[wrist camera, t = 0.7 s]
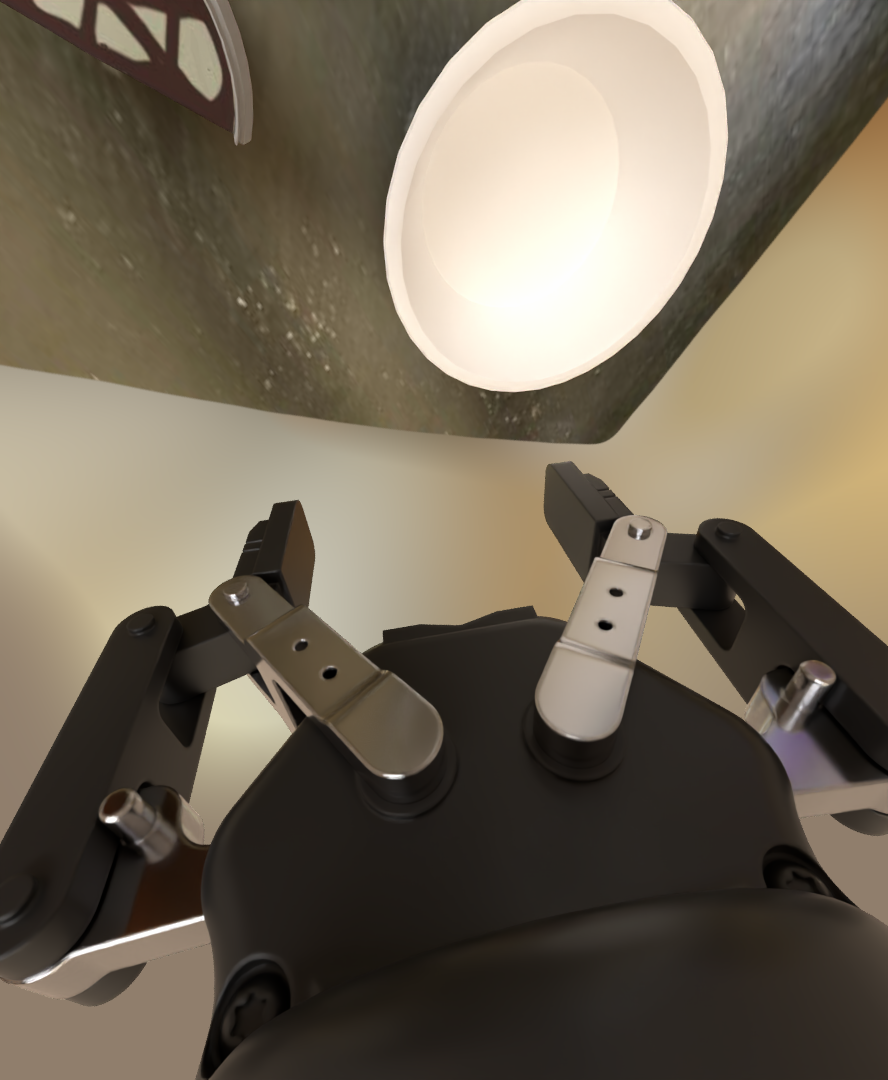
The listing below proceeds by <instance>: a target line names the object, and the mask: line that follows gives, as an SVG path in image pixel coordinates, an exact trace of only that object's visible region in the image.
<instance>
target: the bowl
mask: <svg viewBox="0 0 888 1080" xmlns="http://www.w3.org/2000/svg"><path fill="white" fill-rule="evenodd" d="M727 142H728V128H727V113H726V99H725V91H724V87H723V84H722V81H721V77H720V74H719V70H718V67H717V63H716V60H715V57H714V53H713V51H712V50H711V48H710V46H709V45H708V43H707V42H706V40H705V38H704V37H703V35H702V33H701V32H700V30H699V28H698V27H697V25H696V24H695V22H694V20H693V19H692V17H690V16H689V15H688V14H687V13H686V12H684V11H683V10H682V9H681V8H680V7H678V6H677V5H676V4H675V3H674V2H673V1H671V0H521V1H519V2H518V3H516V4H514V5H513V6H511V7H510V8H508V9H507V10H505V11H504V12H502V13H501V14H499V15H498V16H496V17H494V18H493V19H491V20H490V21H488V22H487V23H486V24H485V25H484V26H483V27H482V28H481V29H480V30H479V31H478V32H477V33H476V34H475V35H474V36H473V37H472V38H471V39H470V40H469V41H468V42H467V43H466V44H465V45H464V46H463V47H462V48H461V49H460V50H459V51H458V52H457V53H456V54H455V55H454V56H453V57H452V58H451V59H450V60H449V62H448V63H447V65H446V66H445V68H444V69H443V71H442V72H441V74H440V75H439V77H438V78H437V80H436V81H435V83H434V84H433V86H432V87H431V89H430V90H429V92H428V93H427V95H426V96H425V98H424V99H423V101H422V102H421V104H420V105H419V107H418V109H417V111H416V114H415V116H414V118H413V120H412V123H411V125H410V127H409V130H408V132H407V134H406V136H405V139H404V141H403V143H402V145H401V148H400V150H399V152H398V156H397V160H396V164H395V168H394V172H393V176H392V180H391V184H390V188H389V191H388V195H387V201H386V213H385V226H384V239H383V243H384V254H385V264H386V275H387V281H388V284H389V288H390V291H391V295H392V298H393V302H394V305H395V309H396V312H397V314H398V316H399V317H400V319H401V321H402V323H403V325H404V327H405V329H406V331H407V333H408V335H409V337H410V338H411V339H412V341H413V342H414V343H415V344H416V346H417V347H418V348H419V349H420V351H421V352H422V353H423V354H424V355H425V357H426V358H427V359H428V360H430V361H431V362H432V363H433V364H435V365H436V366H437V367H438V368H440V369H441V370H442V371H443V372H445V373H446V374H448V375H450V376H452V377H454V378H456V379H458V380H460V381H462V382H464V383H466V384H468V385H471V386H475V387H479V388H483V389H487V390H491V391H506V392H520V391H528V390H537V389H542V388H545V387H549V386H552V385H556V384H559V383H563V382H565V381H567V380H570V379H572V378H574V377H576V376H578V375H581V374H583V373H585V372H587V371H589V370H591V369H592V368H594V367H596V366H597V365H599V364H600V363H602V362H603V361H605V360H607V359H608V358H610V357H611V356H613V355H614V354H615V353H617V352H618V351H619V350H620V349H621V348H623V347H624V346H625V345H626V344H628V343H629V342H630V341H631V340H632V339H634V338H635V337H636V336H637V335H638V334H639V333H640V332H641V331H642V330H643V329H644V328H645V327H646V326H647V325H648V323H649V322H650V321H651V320H652V319H653V318H654V317H655V316H656V315H657V314H658V313H659V312H660V310H661V309H662V308H663V306H664V305H665V304H666V302H667V301H668V300H669V298H670V297H671V296H672V294H673V293H674V292H675V290H676V289H677V288H678V286H679V285H680V283H681V282H682V280H683V278H684V276H685V275H686V273H687V271H688V269H689V268H690V266H691V264H692V263H693V261H694V259H695V257H696V256H697V254H698V252H699V249H700V247H701V245H702V242H703V240H704V238H705V235H706V233H707V230H708V228H709V226H710V223H711V221H712V218H713V215H714V212H715V208H716V204H717V201H718V197H719V193H720V189H721V186H722V182H723V178H724V169H725V160H726V151H727Z"/></svg>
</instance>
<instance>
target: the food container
mask: <svg viewBox="0 0 888 1080" xmlns="http://www.w3.org/2000/svg"><path fill="white" fill-rule="evenodd" d="M0 2H2V3H4V4H5V5H7V6H9V7H11V8H12V9H14V10H16V11H17V12H19V13H21V14H23V15H24V16H26V17H28V18H29V19H31V20H33V21H35V22H36V23H38V24H40V25H41V26H43V27H45V28H47V29H48V30H50V31H52V32H53V33H55V34H56V35H58V36H60V37H61V38H63V39H65V40H66V41H68V42H70V43H71V44H73V45H75V46H76V47H78V48H80V49H81V50H83V51H85V52H86V53H88V54H90V55H91V56H93V57H95V58H96V59H98V60H100V61H102V62H104V63H106V64H108V65H110V66H111V67H113V68H115V69H117V70H119V71H121V72H123V73H125V74H127V75H128V76H130V77H132V78H134V79H136V80H138V81H139V82H141V83H143V84H145V85H147V86H149V87H150V88H152V89H154V90H156V91H158V92H159V93H161V94H163V95H165V96H167V97H169V98H170V99H172V100H174V101H176V102H177V103H179V104H181V105H183V106H184V107H186V108H188V109H190V110H191V111H193V112H195V113H197V114H198V115H200V116H202V117H204V118H206V119H207V120H209V121H211V122H213V123H214V124H216V125H218V126H220V127H222V128H223V129H225V130H227V131H229V132H231V133H232V134H233V133H234V141H235V145H237V144H238V142H239V143H241V144H243V145H244V144H246V143H248V142H249V141H251V136H252V126H253V96H252V86H251V80H250V73H249V66H248V61H247V57H246V53H245V50H244V46H243V42H242V38H241V34H240V31H239V28H238V26H237V23H236V20H235V17H234V15H233V12H232V9H231V7H230V4H229V1H228V0H0Z"/></svg>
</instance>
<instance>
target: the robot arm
mask: <svg viewBox="0 0 888 1080" xmlns="http://www.w3.org/2000/svg"><path fill="white" fill-rule="evenodd" d="M544 514H545V518H546V522H547V524H548V525H549V527H550V529H551V530H552V532H553V533H554V535H555V537H556V538H557V539H558V541H559V543H560V545H561V546H562V548H563V549H564V551H565V553H566V554H567V556H568V558H569V559H570V561H571V563H572V564H573V566H574V567H575V569H576V571H577V572H578V574H579V575H580V577H581V579H582V580H583V582H584V584H583V587H582V589H581V591H580V594H579V596H578V599H577V601H576V603H575V606H574V608H573V610H572V613H571V615H570V617H569V620H568V622H566V621H563V620H560V619H555V618H551V617H542V616H537V615H536V612H535V610H534V608H533V606H527V607H520V608H514V609H509V610H503V611H497V612H494V613H491V614H489V615H486V616H484V617H481V618H479V619H476V620H473V621H471V622H468V623H465V624H463V625H425V624H419V625H414V626H408V627H402V628H396V629H390V630H384V631H383V643H380V644H378V645H376V646H374V647H372V648H370V649H368V650H367V651H365V652H363V653H361V652H359V651H358V650H357V649H356V648H355V647H353V646H352V645H351V644H350V643H349V642H348V641H346V640H345V639H344V638H343V637H342V636H341V635H339V634H338V633H337V632H336V631H335V630H333V629H332V628H331V627H330V626H329V625H328V624H326V623H325V622H324V621H323V620H322V619H321V618H319V617H318V616H317V615H316V614H315V613H314V612H312V611H311V610H310V609H309V608H308V606H309V598H310V591H311V584H312V577H313V570H314V562H315V549H314V543H313V540H312V536H311V533H310V530H309V527H308V524H307V521H306V517H305V514H304V511H303V508H302V505H301V503H300V501H299V500H295V501H288V502H281V503H275V504H274V505H273V508H272V511H271V514H270V517H269V520H264V521H260V522H258V524H257V525H256V526H255V527H254V528H253V529H252V530H251V531H250V532H249V534H248V537H247V540H246V544H245V545H244V548H243V553H242V554H241V556H240V559H239V562H238V565H237V568H236V571H235V573H234V576H233V578H232V579H230V580H228V581H226V582H224V583H222V584H221V585H219V586H218V587H217V588H216V589H215V590H214V591H213V592H212V593H211V595H210V597H209V604H208V605H207V606H205V607H202V608H199V609H197V610H194V611H191V612H189V613H186V614H183V615H180V616H178V617H176V615H175V613H174V612H173V610H172V609H170V608H169V607H166V606H154V607H149V608H145V609H142V610H140V611H138V612H135V613H134V614H132V615H130V616H128V617H127V618H126V619H124V620H123V621H122V622H121V623H120V624H118V626H117V627H116V628H115V630H114V631H113V633H112V635H111V636H110V638H109V640H108V642H107V644H106V646H105V648H104V649H103V652H102V653H101V655H100V657H99V659H98V661H97V663H96V665H95V666H94V668H93V670H92V672H91V674H90V676H89V678H88V680H87V682H86V683H85V685H84V687H83V689H82V691H81V693H80V695H79V697H78V698H77V700H76V702H75V704H74V706H73V708H72V710H71V712H70V713H69V716H68V717H67V719H66V721H65V723H64V725H63V727H62V729H61V730H60V732H59V734H58V736H57V738H56V740H55V742H54V744H53V746H52V747H51V749H50V751H49V753H48V755H47V757H46V759H45V761H44V763H43V764H42V766H41V768H40V770H39V772H38V774H37V776H36V778H35V779H34V781H33V783H32V785H31V787H30V789H29V791H28V793H27V795H26V796H25V798H24V800H23V802H22V804H21V806H20V808H19V810H18V812H17V814H16V815H15V817H14V819H13V821H12V823H11V825H10V827H9V829H8V830H7V832H6V834H5V836H4V838H3V840H2V842H1V844H0V978H1V979H2V981H4V982H6V983H8V984H11V985H14V986H17V987H20V988H23V989H26V990H29V991H32V992H35V993H38V994H41V995H44V996H47V997H50V998H53V999H66V1000H69V1001H72V1002H75V1003H78V1004H81V1005H85V1006H98V1005H101V1004H104V1003H106V1002H108V1001H110V1000H112V999H114V998H115V997H116V996H118V995H119V994H121V993H122V992H123V991H124V990H125V989H127V988H128V987H129V985H130V984H131V983H132V982H133V981H134V980H135V979H136V978H137V976H138V975H139V974H140V973H141V971H142V969H143V968H144V966H145V965H146V963H147V962H148V961H151V960H155V959H158V958H162V957H165V956H169V955H172V954H176V953H179V952H183V951H186V950H189V949H193V948H197V947H200V946H203V945H207V944H210V943H211V945H212V952H213V960H214V977H215V979H214V980H215V981H214V1006H213V1013H212V1020H211V1024H210V1029H209V1033H208V1037H207V1041H206V1045H205V1048H204V1052H203V1055H202V1058H201V1062H200V1065H199V1069H198V1072H197V1075H196V1079H195V1080H888V926H887V925H885V924H884V923H882V922H881V921H879V920H878V919H876V918H875V917H874V916H872V915H870V914H868V913H866V912H865V911H863V910H861V909H860V908H859V907H857V906H856V905H855V904H854V903H853V902H852V901H851V900H850V899H849V898H848V897H847V896H846V895H845V894H844V893H843V892H842V891H841V890H840V889H839V888H838V887H837V886H836V885H835V884H834V883H833V881H832V880H831V879H830V878H829V877H828V875H827V874H826V873H825V871H824V870H823V869H822V867H821V866H820V864H819V862H818V861H817V859H816V857H815V855H814V853H813V851H812V849H811V847H810V845H809V843H808V841H807V838H806V835H805V833H804V831H803V828H802V825H801V823H800V819H799V818H806V817H813V816H820V815H827V814H830V815H831V816H832V817H833V818H835V819H836V820H837V821H839V822H840V823H842V824H843V825H845V826H847V827H848V828H850V829H852V830H855V831H857V832H860V833H863V834H867V835H873V836H880V835H885V834H888V646H887V645H886V644H885V643H884V642H883V641H881V640H880V639H879V638H878V637H877V636H876V635H874V634H873V633H872V632H871V631H869V629H868V628H866V627H865V626H864V625H863V624H862V623H861V622H859V621H858V620H857V619H856V618H855V617H854V616H852V615H851V614H850V613H849V612H848V611H847V610H846V609H844V608H843V607H842V606H841V605H840V604H839V603H837V602H836V601H835V600H834V599H833V598H832V597H831V596H829V595H828V594H827V593H826V592H825V591H824V590H822V589H821V588H820V587H819V586H818V585H816V584H815V583H814V582H813V581H812V580H811V579H810V578H809V577H807V576H806V575H805V574H804V573H803V572H802V571H800V570H799V569H798V568H797V567H796V566H795V565H794V564H792V563H791V562H790V561H789V560H788V559H787V558H785V557H784V556H783V555H782V554H781V553H780V552H778V551H777V550H776V549H775V548H774V547H773V546H772V545H770V544H769V543H768V542H767V541H766V540H764V539H763V538H762V537H761V536H760V535H759V534H757V533H756V532H755V531H754V530H753V529H752V528H750V527H749V526H747V525H745V524H743V523H740V522H737V521H734V520H729V519H720V518H719V519H718V518H717V519H709V520H706V521H704V522H702V523H701V524H700V526H699V528H698V532H697V534H696V535H695V534H676V533H675V534H674V533H667V529H666V528H665V526H664V525H663V524H662V523H660V522H659V521H657V520H655V519H652V518H649V517H646V516H640V515H634V514H633V513H632V512H631V511H630V510H629V509H628V508H627V507H626V506H625V505H624V504H623V502H622V501H621V500H620V499H619V498H618V497H616V496H615V494H614V493H613V492H612V491H611V490H609V487H608V486H607V485H606V484H605V483H604V482H603V481H602V480H601V479H599V478H597V477H595V476H593V475H591V474H582V472H581V471H580V470H579V469H578V468H577V467H576V466H575V464H574V463H573V462H571V461H568V462H562V463H554V464H549V465H548V466H547V468H546V477H545V494H544ZM736 594H737V595H738V596H739V597H740V598H741V600H742V602H743V603H744V606H745V610H744V609H743V608H742V606H740V604H739V603H738V602H737V601H736V600H735V599H734V598H735V596H736ZM650 605H653V606H665V607H677V608H678V610H679V611H680V612H681V614H682V615H683V617H684V618H685V620H686V621H687V622H688V624H689V625H690V626H691V628H692V629H693V630H694V632H695V633H696V634H697V636H698V637H699V639H700V640H701V641H702V643H703V644H704V646H705V647H706V648H707V650H708V651H709V653H710V654H711V655H712V657H713V658H714V659H715V661H716V662H717V664H718V665H719V666H720V668H721V669H722V670H723V672H724V673H725V675H726V676H727V677H728V679H729V680H730V681H731V683H732V684H733V686H734V687H735V688H736V690H737V691H738V692H739V694H740V695H741V697H742V698H743V699H744V701H745V702H746V703H747V707H746V709H745V721H746V722H745V721H744V720H743V719H741V718H740V717H738V716H737V715H735V714H734V713H732V712H730V711H728V710H727V709H725V708H723V707H721V706H720V705H718V704H716V703H714V702H712V701H711V700H709V699H707V698H705V697H703V696H701V695H700V694H698V693H696V692H694V691H693V690H691V689H689V688H687V687H686V686H684V685H682V684H680V683H678V682H677V681H675V680H673V679H671V678H669V677H668V676H666V675H664V674H662V673H660V672H659V671H657V670H655V669H653V668H651V667H650V666H648V665H646V664H644V663H642V662H641V661H639V660H637V655H638V651H639V647H640V643H641V639H642V634H643V631H644V627H645V623H646V619H647V615H648V610H649V607H650ZM246 674H247V675H248V677H249V678H250V679H251V681H252V682H253V683H254V684H255V685H256V687H257V688H258V689H259V690H260V691H261V693H262V694H263V695H264V696H265V698H266V699H267V700H268V701H269V702H270V704H271V705H272V706H273V707H274V708H275V710H276V711H277V712H278V713H279V715H280V716H281V717H282V719H283V720H284V722H285V723H286V725H287V726H288V728H289V730H290V731H291V733H292V735H291V736H290V737H289V738H288V740H287V741H286V742H285V743H284V745H283V746H282V747H281V748H280V749H279V751H278V752H277V753H276V754H275V756H274V757H273V758H272V759H271V761H270V762H269V763H268V764H267V765H266V767H265V768H264V769H263V770H262V772H261V773H260V774H259V775H258V777H257V778H256V779H255V780H254V782H253V783H252V784H251V785H250V786H249V788H248V789H247V790H246V791H245V793H244V794H243V795H242V796H241V798H240V799H239V800H238V801H237V803H236V804H235V805H234V806H233V807H232V809H231V810H230V811H229V813H228V814H227V815H226V817H225V818H224V820H223V821H222V823H221V825H220V826H219V828H218V830H217V832H216V834H215V836H214V838H213V840H212V842H211V844H210V845H204V824H203V821H202V819H201V817H200V816H199V815H198V814H197V813H196V812H195V810H194V809H193V808H192V807H191V806H190V805H189V801H190V797H191V793H192V789H193V784H194V780H195V776H196V772H197V768H198V763H199V759H200V755H201V751H202V747H203V743H204V739H205V735H206V730H207V726H208V722H209V718H210V713H211V709H212V705H213V701H214V697H215V693H216V688H217V687H219V686H221V685H223V684H225V683H228V682H230V681H232V680H235V679H237V678H240V677H242V676H244V675H246Z"/></svg>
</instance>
